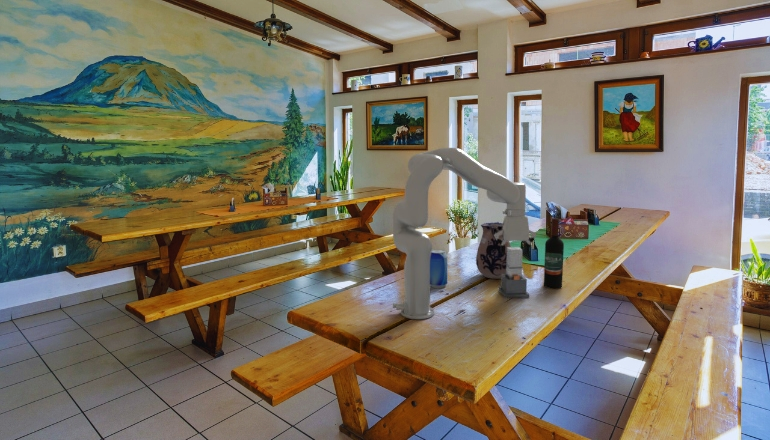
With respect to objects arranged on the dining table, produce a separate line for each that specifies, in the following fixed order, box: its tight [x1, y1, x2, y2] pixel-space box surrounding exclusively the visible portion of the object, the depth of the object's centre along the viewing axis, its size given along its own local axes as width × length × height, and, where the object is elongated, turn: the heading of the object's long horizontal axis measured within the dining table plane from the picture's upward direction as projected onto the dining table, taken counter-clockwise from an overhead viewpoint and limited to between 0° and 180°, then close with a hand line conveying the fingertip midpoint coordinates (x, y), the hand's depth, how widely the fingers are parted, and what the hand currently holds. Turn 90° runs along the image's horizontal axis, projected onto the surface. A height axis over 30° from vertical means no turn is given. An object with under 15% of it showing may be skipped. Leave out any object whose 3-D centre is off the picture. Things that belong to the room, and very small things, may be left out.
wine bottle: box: [543, 217, 565, 290], centre depth 200 cm, size 8×8×30 cm
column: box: [506, 246, 523, 279], centre depth 192 cm, size 5×5×18 cm
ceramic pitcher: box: [475, 221, 512, 280], centre depth 218 cm, size 18×21×25 cm
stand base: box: [498, 274, 530, 299], centre depth 193 cm, size 10×10×9 cm
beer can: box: [430, 248, 448, 289], centre depth 206 cm, size 8×8×16 cm
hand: (514, 253), depth 191 cm, fingers open, 9 cm apart
